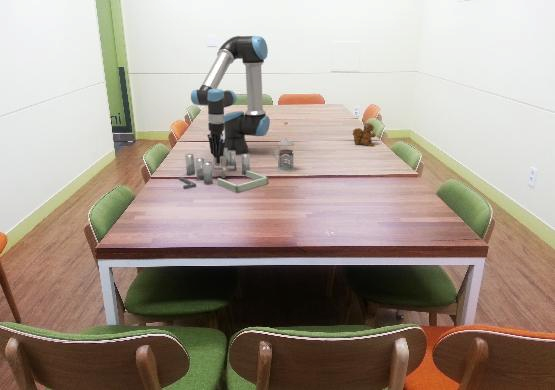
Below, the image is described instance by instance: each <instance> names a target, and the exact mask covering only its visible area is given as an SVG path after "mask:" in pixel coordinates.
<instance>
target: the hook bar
mask: <svg viewBox="0 0 555 390" xmlns="http://www.w3.org/2000/svg"><path fill="white" fill-rule="evenodd" d="M178 180H179V181H180V182H182V183H184V184H185V185H182V187H183V188H182V189H184V190H188V189H191V188H196V187H197V184H196V183H195V182H194V181H191V180H189V179H188V178H186V177H183V176H178Z"/></svg>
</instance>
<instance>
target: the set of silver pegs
mask: <svg viewBox="0 0 555 390" xmlns="http://www.w3.org/2000/svg"><path fill="white" fill-rule="evenodd" d="M194 155H195V154H194V153H186V154H185V156H184V157H185V166H186V169H185V170H186V175H187V174H188V176H194V175H195V174H196V180H198V181H201V180H202V181H203V183H204V185H212V184H213V180H214V179H213V167H212V166H213V165H212V162H211V161H205V159H204V158H203V157H197V158H194ZM240 156H241V174H242V175H243V174H244V176H245V175H246V171H248V170H249V171H251V164H250V161H251V160H250V153H248V152H246V153H243V154H240ZM223 158H226V166H234V170H229V171H230V172H234V171H237V154H236V151H235V150H229V151H228V148H224V152H223V156H221V157H220V163H221V162H222V161H223ZM193 174H194V175H193Z"/></svg>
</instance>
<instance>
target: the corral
mask: <svg viewBox="0 0 555 390" xmlns="http://www.w3.org/2000/svg"><path fill="white" fill-rule="evenodd" d="M246 177H247V178H249V179H252V181H248V182H244V183H239V184H235V183H233V182H230V181H228V180H224V178H221V177H218V178H216V182H217V183H216V185H218V186H219V187H221V188H225V189H227V190H229V191H231V192H234V193H236V194H238V193H242V192H245V191H249V190H251V189H254V188H258V187H261V186H264V185H268V184H269V177H268V176H265V175H263V174H260V173H256V172H254V171H251V170H250V171H249V170H248V171H246Z"/></svg>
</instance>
